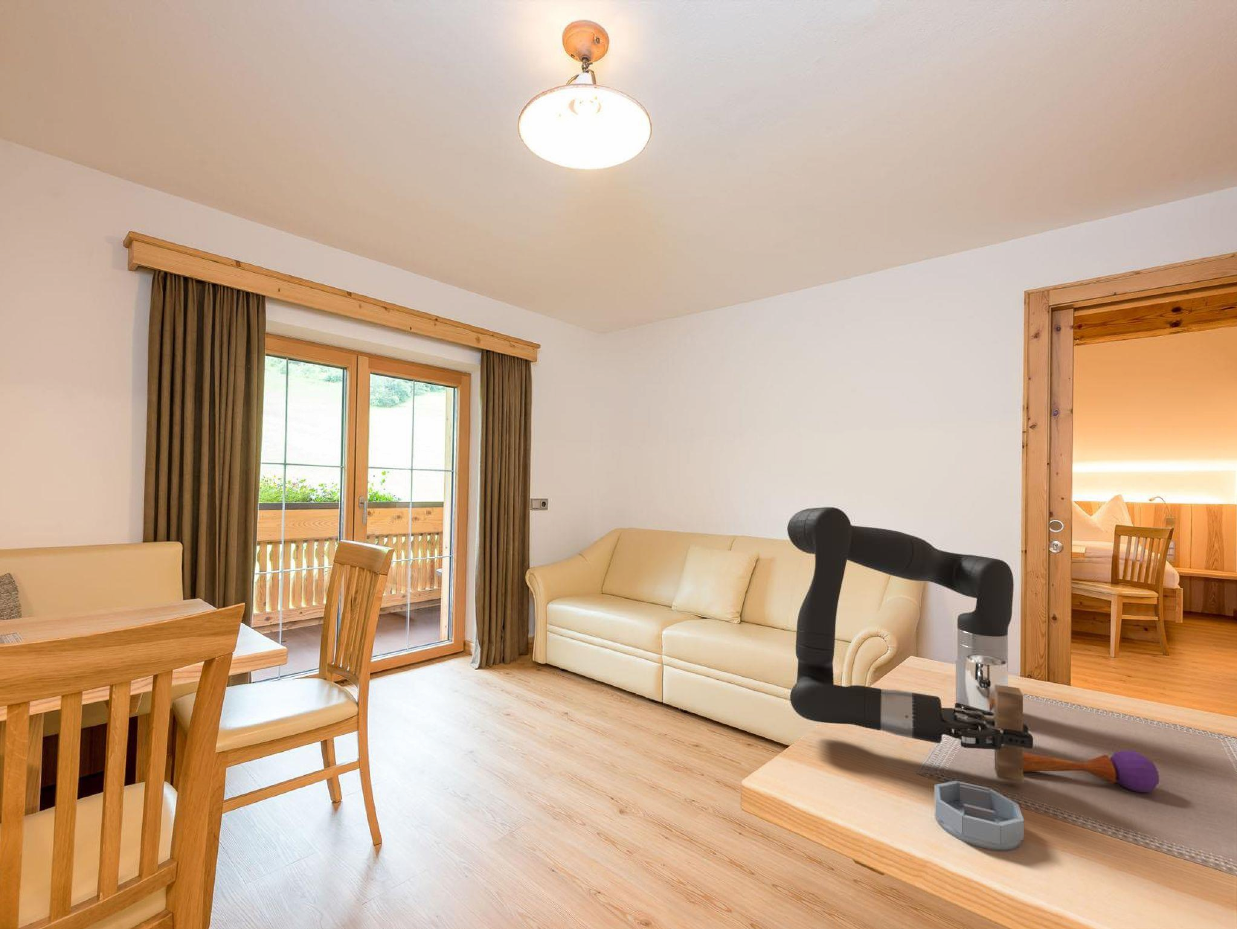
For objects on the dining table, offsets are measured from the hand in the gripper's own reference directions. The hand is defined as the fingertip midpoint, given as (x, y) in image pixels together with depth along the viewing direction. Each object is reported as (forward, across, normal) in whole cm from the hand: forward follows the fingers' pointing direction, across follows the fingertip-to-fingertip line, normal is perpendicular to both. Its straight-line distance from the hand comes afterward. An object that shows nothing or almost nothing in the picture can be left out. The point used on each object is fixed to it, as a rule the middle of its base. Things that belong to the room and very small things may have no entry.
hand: (1029, 736), depth 91 cm
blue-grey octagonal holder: (-9, -16, +8) cm, 20 cm away
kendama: (+8, +8, +9) cm, 14 cm away
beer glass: (-4, +18, +9) cm, 20 cm away
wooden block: (-3, 0, +7) cm, 8 cm away
